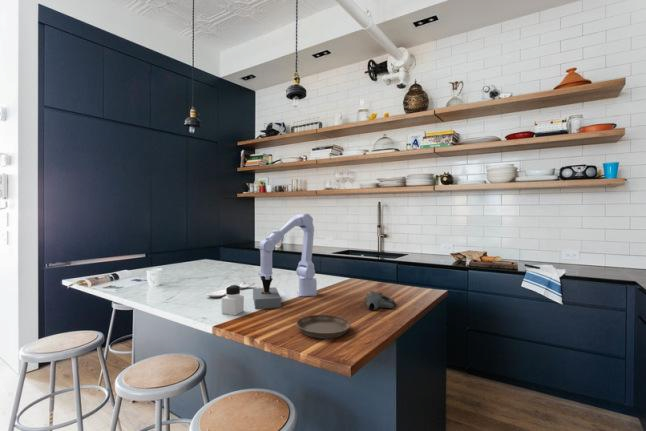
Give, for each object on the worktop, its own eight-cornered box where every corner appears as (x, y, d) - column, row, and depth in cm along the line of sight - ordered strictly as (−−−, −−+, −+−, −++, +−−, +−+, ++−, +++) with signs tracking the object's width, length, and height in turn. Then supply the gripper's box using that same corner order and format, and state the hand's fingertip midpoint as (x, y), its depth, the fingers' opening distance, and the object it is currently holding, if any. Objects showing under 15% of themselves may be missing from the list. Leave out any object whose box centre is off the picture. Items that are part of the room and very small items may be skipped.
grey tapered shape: (362, 299, 157) (395, 306, 153) (368, 286, 181) (397, 291, 177) (361, 310, 157) (394, 316, 154) (367, 295, 181) (395, 301, 178)
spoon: (255, 287, 201) (255, 281, 201) (215, 300, 173) (215, 293, 173) (243, 286, 205) (243, 280, 205) (202, 298, 177) (202, 291, 177)
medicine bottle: (244, 311, 155) (244, 284, 154) (235, 315, 148) (235, 288, 148) (230, 309, 157) (230, 283, 157) (221, 313, 150) (221, 286, 150)
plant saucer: (346, 322, 142) (347, 314, 141) (353, 341, 121) (353, 332, 121) (297, 322, 141) (297, 314, 141) (295, 341, 120) (295, 332, 120)
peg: (269, 296, 172) (269, 278, 172) (269, 297, 169) (269, 279, 169) (263, 296, 171) (263, 278, 171) (263, 297, 168) (263, 279, 168)
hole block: (275, 295, 182) (275, 287, 182) (280, 307, 161) (281, 297, 161) (252, 296, 179) (252, 288, 179) (255, 309, 158) (255, 299, 158)
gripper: (257, 262, 176) (257, 288, 176) (259, 266, 162) (259, 295, 162) (271, 261, 177) (271, 287, 178) (274, 266, 163) (273, 294, 164)
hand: (266, 291), depth 170 cm, fingers closed on peg, 3 cm apart
